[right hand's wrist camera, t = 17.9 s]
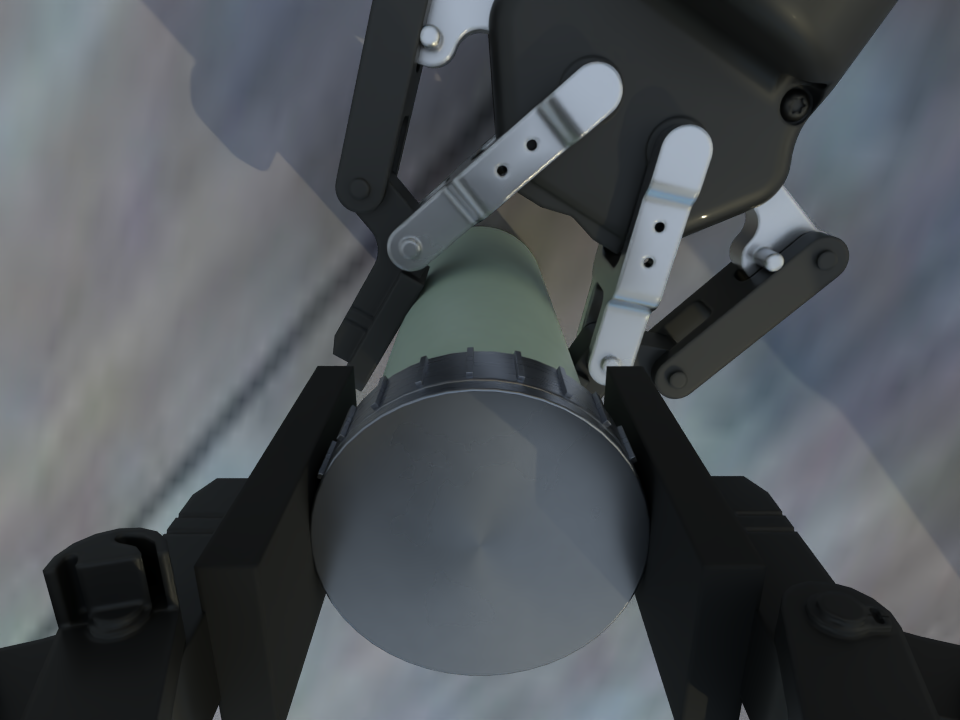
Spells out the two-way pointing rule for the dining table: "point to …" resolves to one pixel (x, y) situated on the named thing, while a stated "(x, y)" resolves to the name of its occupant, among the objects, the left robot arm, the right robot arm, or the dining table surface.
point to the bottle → (482, 305)
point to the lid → (480, 515)
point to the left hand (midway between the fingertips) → (435, 416)
